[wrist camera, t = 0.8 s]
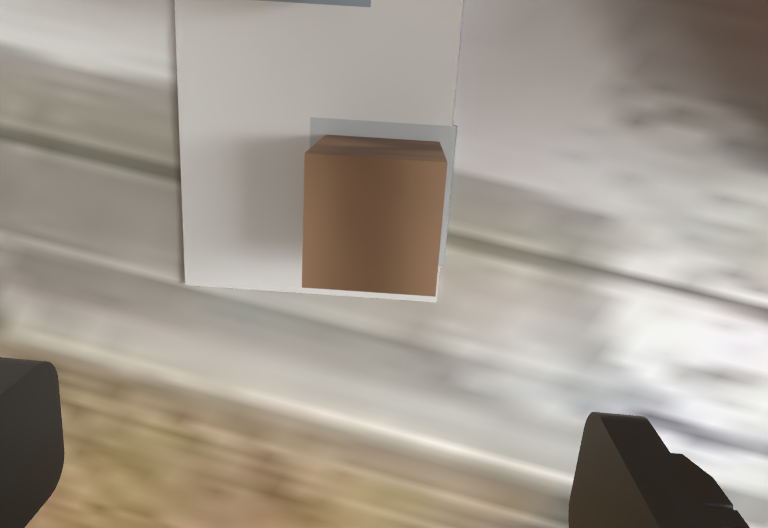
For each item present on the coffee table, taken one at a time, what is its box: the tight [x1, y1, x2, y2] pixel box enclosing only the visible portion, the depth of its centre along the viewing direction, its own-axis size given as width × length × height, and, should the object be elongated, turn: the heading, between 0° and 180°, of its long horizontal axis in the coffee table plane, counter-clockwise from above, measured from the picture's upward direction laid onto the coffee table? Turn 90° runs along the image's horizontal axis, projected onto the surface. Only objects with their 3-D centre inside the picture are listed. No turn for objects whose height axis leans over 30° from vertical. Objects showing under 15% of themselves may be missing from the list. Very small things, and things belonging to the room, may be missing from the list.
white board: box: [174, 0, 464, 302], centre depth 27 cm, size 12×22×1 cm, turn 177°
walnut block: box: [302, 135, 447, 297], centre depth 26 cm, size 5×5×6 cm
